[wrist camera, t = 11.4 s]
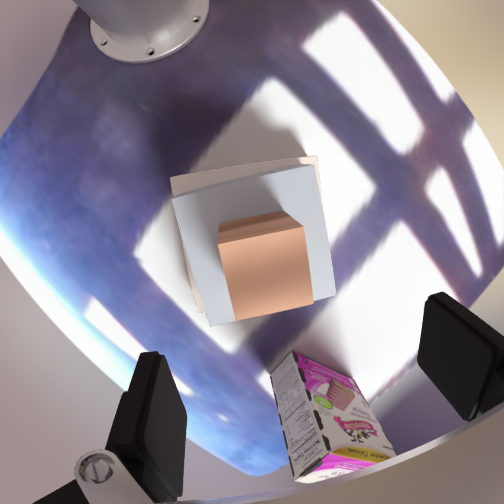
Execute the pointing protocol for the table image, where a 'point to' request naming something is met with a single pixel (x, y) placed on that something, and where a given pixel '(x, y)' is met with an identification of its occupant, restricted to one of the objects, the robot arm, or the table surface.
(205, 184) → the tower base
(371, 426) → the candy bar box
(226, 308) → the tower top
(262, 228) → the terracotta block
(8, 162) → the table surface
